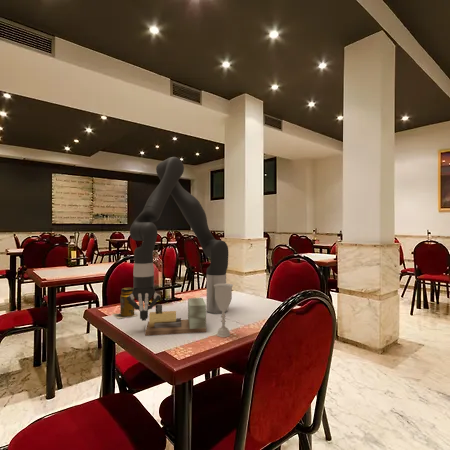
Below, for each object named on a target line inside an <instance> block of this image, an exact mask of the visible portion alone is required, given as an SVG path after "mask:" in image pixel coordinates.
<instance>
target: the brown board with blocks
mask: <svg viewBox="0 0 450 450" xmlns="http://www.w3.org/2000/svg"><path fill="white" fill-rule="evenodd" d="M187 317H188V318H187V319H182V318H181V317H180V318H177V317H176V322H172V323H154V327H149V320H148V321H147V323H146V328H145V331H144V332H145V333H144V335H145V337H147V336H163V335H176V334H177V335H179V334H181V335H182V334H194V333H206V332H207V303H206V302H205V300H204V298H203V297H197V298H195V297H191V298H187Z"/></svg>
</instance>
